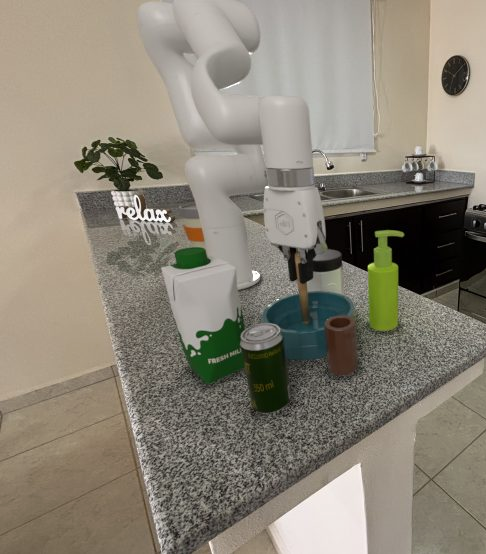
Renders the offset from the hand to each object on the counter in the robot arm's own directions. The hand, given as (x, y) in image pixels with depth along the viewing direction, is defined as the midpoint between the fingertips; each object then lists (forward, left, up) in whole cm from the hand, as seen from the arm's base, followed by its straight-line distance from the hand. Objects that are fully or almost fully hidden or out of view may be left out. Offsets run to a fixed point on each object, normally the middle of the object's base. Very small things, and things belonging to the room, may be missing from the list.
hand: (301, 279), depth 65 cm
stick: (0, 0, -10) cm, 10 cm away
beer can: (+8, -18, -11) cm, 23 cm away
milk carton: (-5, -15, -11) cm, 20 cm away
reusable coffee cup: (-60, +27, -11) cm, 66 cm away
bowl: (+2, -1, -11) cm, 12 cm away
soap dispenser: (+13, +9, -11) cm, 19 cm away
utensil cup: (+13, -7, -11) cm, 19 cm away
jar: (-4, +12, -11) cm, 17 cm away
